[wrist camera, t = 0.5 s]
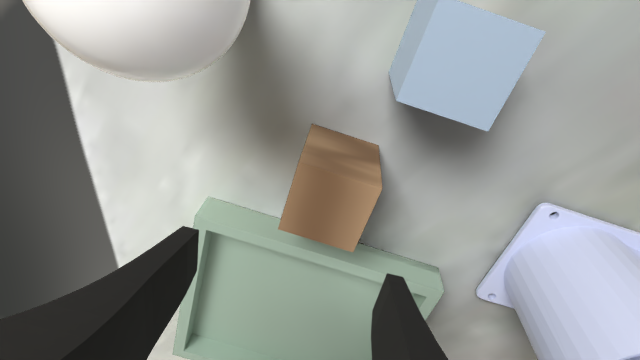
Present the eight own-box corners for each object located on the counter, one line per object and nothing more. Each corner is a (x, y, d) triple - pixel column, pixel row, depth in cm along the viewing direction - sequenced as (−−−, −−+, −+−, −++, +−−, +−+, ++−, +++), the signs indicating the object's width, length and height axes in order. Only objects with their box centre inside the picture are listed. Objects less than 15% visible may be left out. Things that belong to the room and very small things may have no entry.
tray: (438, 267, 25) (444, 292, 23) (365, 382, 32) (365, 409, 30) (208, 196, 24) (195, 215, 22) (184, 330, 31) (172, 354, 29)
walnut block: (378, 145, 21) (382, 188, 17) (354, 200, 23) (353, 252, 19) (312, 123, 21) (298, 161, 17) (294, 181, 23) (277, 229, 19)
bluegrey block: (500, 17, 18) (545, 31, 13) (460, 96, 19) (488, 131, 15) (421, -11, 17) (440, -6, 13) (388, 72, 19) (395, 100, 15)
